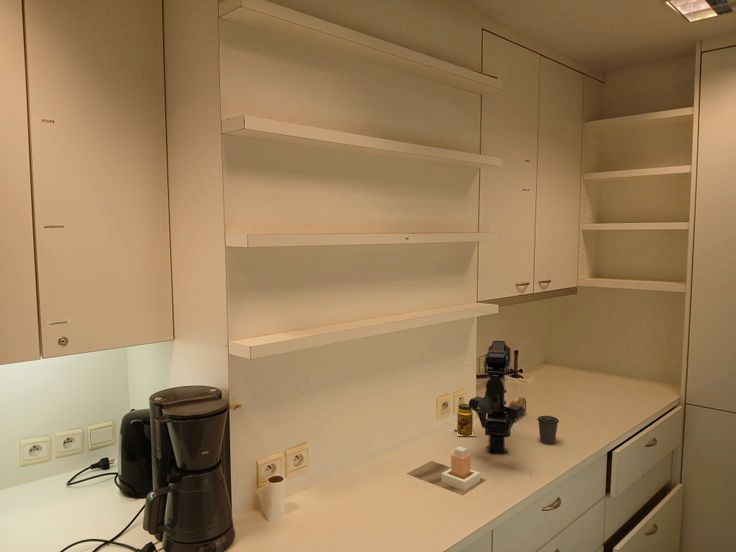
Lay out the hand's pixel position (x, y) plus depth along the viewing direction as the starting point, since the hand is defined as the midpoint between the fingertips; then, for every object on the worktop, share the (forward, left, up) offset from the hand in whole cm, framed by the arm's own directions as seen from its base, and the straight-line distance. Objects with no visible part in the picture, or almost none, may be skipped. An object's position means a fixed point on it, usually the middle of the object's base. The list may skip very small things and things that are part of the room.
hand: (495, 431), depth 188 cm
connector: (+15, -15, -11) cm, 24 cm away
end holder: (+15, -15, -11) cm, 24 cm away
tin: (-47, +23, -12) cm, 54 cm away
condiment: (-30, -4, -12) cm, 33 cm away
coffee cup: (-19, +26, -12) cm, 35 cm away
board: (+11, -19, -12) cm, 26 cm away
